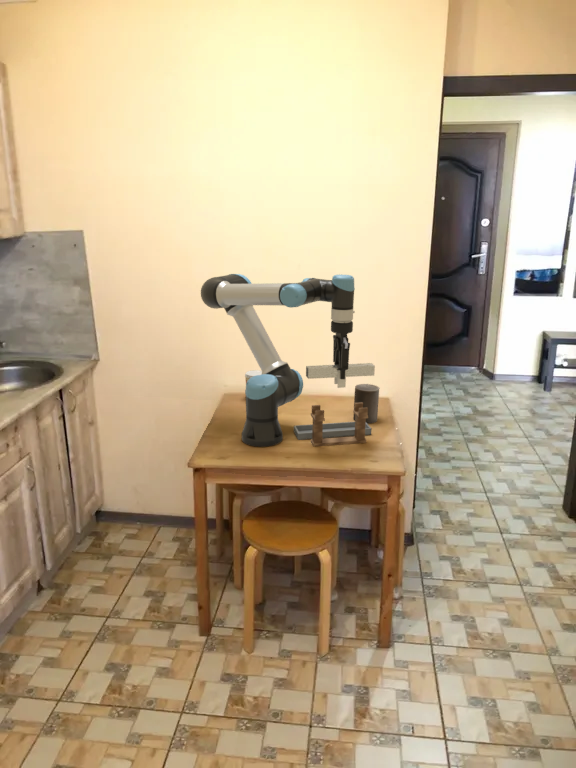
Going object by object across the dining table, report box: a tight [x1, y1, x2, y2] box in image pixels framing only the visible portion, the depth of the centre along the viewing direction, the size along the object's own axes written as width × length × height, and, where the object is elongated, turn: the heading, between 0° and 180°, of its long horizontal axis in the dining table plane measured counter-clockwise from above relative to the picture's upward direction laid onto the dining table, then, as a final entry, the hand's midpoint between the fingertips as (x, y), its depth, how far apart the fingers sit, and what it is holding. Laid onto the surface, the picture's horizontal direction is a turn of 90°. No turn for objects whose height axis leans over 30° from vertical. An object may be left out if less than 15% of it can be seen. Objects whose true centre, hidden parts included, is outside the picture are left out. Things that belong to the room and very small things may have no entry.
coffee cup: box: [244, 369, 262, 384], centre depth 269 cm, size 9×9×12 cm
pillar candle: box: [352, 383, 380, 425], centre depth 245 cm, size 10×10×15 cm
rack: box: [310, 402, 368, 447], centre depth 222 cm, size 20×7×14 cm, turn 101°
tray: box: [293, 421, 372, 441], centre depth 233 cm, size 28×8×2 cm, turn 101°
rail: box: [305, 362, 376, 380], centre depth 216 cm, size 24×4×4 cm, turn 101°
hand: (339, 385), depth 218 cm, fingers closed on rail, 4 cm apart
